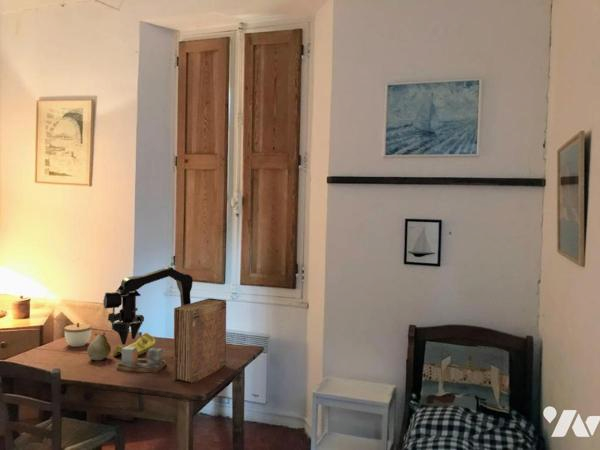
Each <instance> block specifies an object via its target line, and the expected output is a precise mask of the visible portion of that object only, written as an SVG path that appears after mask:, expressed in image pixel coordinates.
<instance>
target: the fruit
mask: <svg viewBox="0 0 600 450" xmlns="http://www.w3.org/2000/svg"><path fill="white" fill-rule="evenodd" d="M105 334H106V332H104V331H103V334H102V333H99V334H98V335H96V336H95V338H93V340H92V341H91V342H90V343H89V344H88V346H87V352H86V353H87V355H88V357H89V358H90V359H91V360H94V361H102V360H105V359H107V357H108V356H109V355H110V353H111V350H112V348H111V345H110V343H109V341H108V339H107V337H106V336H105Z"/></svg>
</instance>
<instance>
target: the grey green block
mask: <svg viewBox="0 0 600 450" xmlns="http://www.w3.org/2000/svg"><path fill="white" fill-rule="evenodd" d="M138 359H139V358H138V349H137V347H126V346H125V347H123V349H122V354H121V363H134V364H135V363H137V361H138Z"/></svg>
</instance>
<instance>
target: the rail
mask: <svg viewBox="0 0 600 450" xmlns="http://www.w3.org/2000/svg"><path fill="white" fill-rule="evenodd" d="M117 365H118V366H117V367H116V370H117V371H123V372H124V371H127V372H141V373H142V372H143V373H154V374H155V373H158V372H159V371H161V370H162V369H163V368H164V367H165V366H167V361H166V360H164V359H163V348H155V347H151V348H149V349H148V350H147V352H146V358H138V361H137V363H135V364H134V363H122V362H118V363H117Z"/></svg>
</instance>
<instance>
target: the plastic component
mask: <svg viewBox="0 0 600 450" xmlns="http://www.w3.org/2000/svg"><path fill="white" fill-rule="evenodd" d="M155 343H156V338H154V336H152V335H151V334H149V333H148V332H145V333H144V334H143V335H141V337H139V338H137V339H136V341H135V342H132V343H130V344H129V345H127V346H125V347H137V349H138V356H141V355H143V354H145V353H147V352H148V350H149V349H151V348H153V346H154V345H155ZM123 348H124V347H123V346H122V345H120V344H119V345H117V346H116V348H115V350H114V351H113V356H115V357H117V356H119V355H122V349H123Z"/></svg>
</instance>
